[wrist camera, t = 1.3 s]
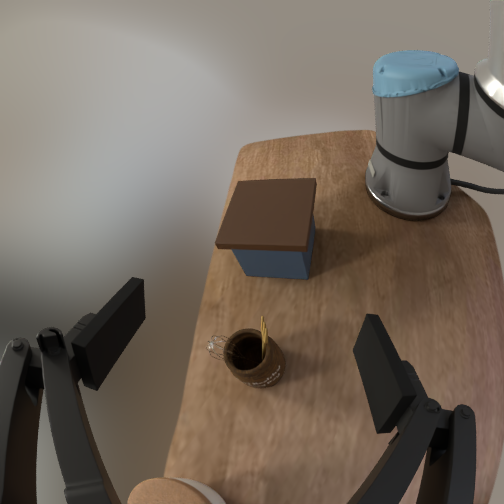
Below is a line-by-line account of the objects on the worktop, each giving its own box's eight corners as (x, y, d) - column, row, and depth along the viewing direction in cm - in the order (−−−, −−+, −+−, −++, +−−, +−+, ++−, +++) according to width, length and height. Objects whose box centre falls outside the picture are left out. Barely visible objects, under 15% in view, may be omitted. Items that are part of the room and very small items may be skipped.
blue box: (322, 223, 44) (315, 177, 37) (314, 286, 38) (306, 246, 31) (255, 222, 48) (238, 180, 41) (238, 281, 42) (214, 243, 35)
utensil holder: (234, 352, 36) (193, 315, 27) (281, 336, 35) (256, 294, 26) (245, 395, 32) (203, 375, 23) (295, 379, 32) (274, 353, 22)
